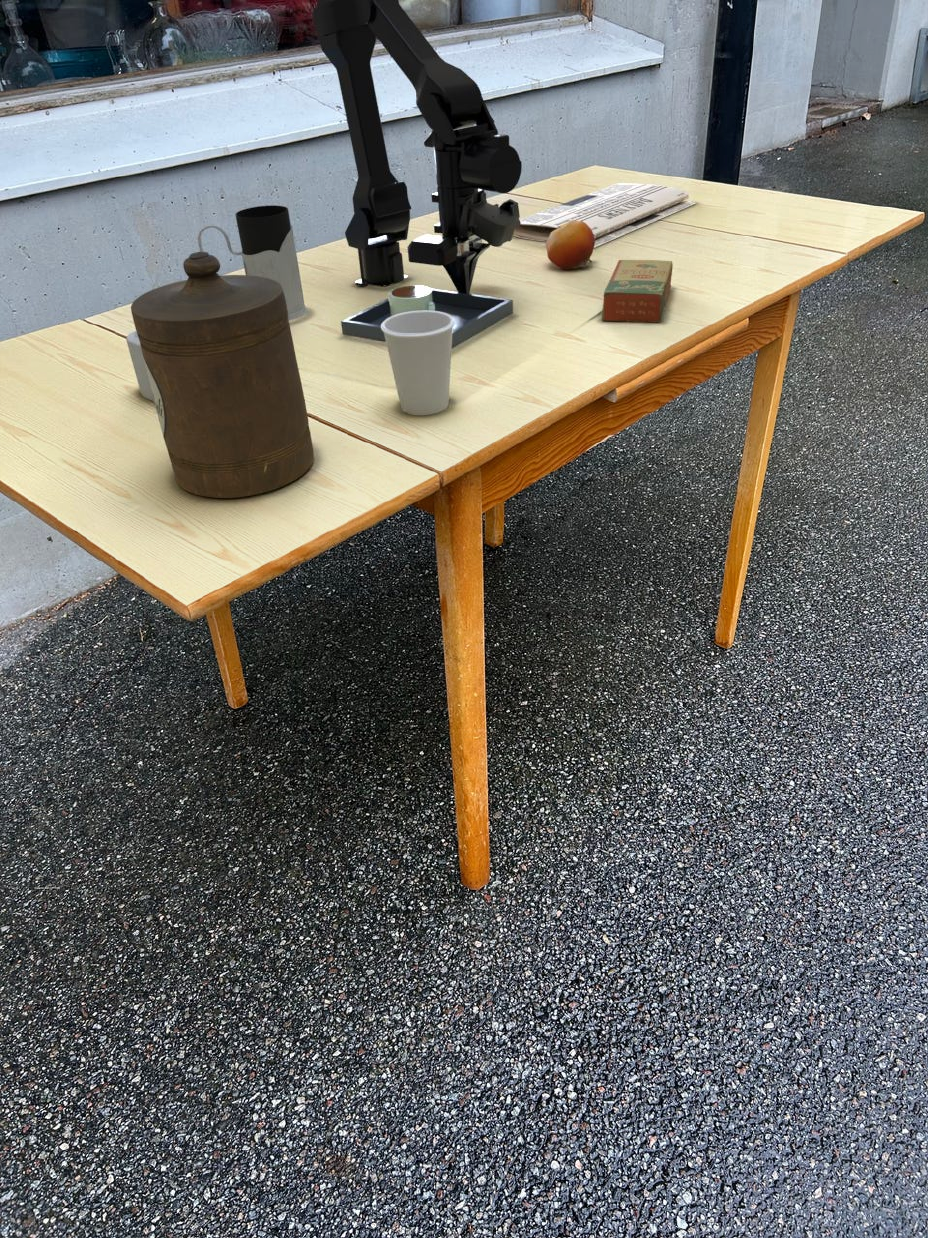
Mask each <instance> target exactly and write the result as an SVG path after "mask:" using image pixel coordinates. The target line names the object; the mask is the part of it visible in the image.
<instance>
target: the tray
mask: <svg viewBox="0 0 928 1238" xmlns="http://www.w3.org/2000/svg"><path fill="white" fill-rule="evenodd" d="M430 288H431V287H430ZM431 289H432V296H433V303H434V304H435V311H439V312H443V313H446V314H449V315H450V316H452V317H453V318H454V320H455V324H454V326H453V332H452V349H454V348H455V347H457V346H459V345H461V344H462V343H464V342H465V341H467V340H469V339H471V338H472V337H474V336H476V335H477V334H479V333H481V332H483V331H485V330H486V329H488V328H490V327H491V326H494V325H495V324H497V323H498V322H501V321H502V320H504V319H506V318H507V317H509V316H511V315H512V314H514V303H513V302H514V300H513V299H510V298H502V297H496V296H489V295H482V294H476V293H475V294H474V293H469V294H468V293H460V292H458V291H452V290H446V289H437V288H431ZM389 317H391V313H390V304H389V297H388V298H386V299H384V300H381V301H379V302H378V303H376V304H373V305H371V306H370V307H367V308H365V309H363V310H361V311H359V312H357V313H355V314H352V315H351V316H349V317H346V318H344V319H342V320H341V321H340V325H341V326H340V327H341V332H342V335H344V336H351V337H357V338H362V339H367V340H373V341H378V342H383V343H384V342H385V343H386V340H385V336H384V332H383V331H382V330H381V324H382V323H383V322H384V321H385V320H386V319H387V318H389Z"/></svg>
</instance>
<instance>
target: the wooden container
mask: <svg viewBox="0 0 928 1238" xmlns="http://www.w3.org/2000/svg"><path fill="white" fill-rule="evenodd" d="M182 267H183V270H184V273H185V275H186V276H187V279H185V280H180V281H175V282H172V283H168V284H165V285H161V286H158V287H156V288H153V289H150V290H148V291H146V292H144V293H143V294H141V295H139V296H137V298H135V300H133V302H132V303H131V306H130V311H131V316H132V321H133V324H134V328H135V331H137V335H138V338H139V341H140V345H141V350H142V354H143V358H144V362H145V366H146V370H147V374H148V378H149V382H150V386H151V390H152V394H153V399H154V401H153V402H154V407H155V410H156V414H157V419H158V422H159V425H160V430H161V434H162V437H163V440H164V445H165V447H166V450H167V453H168V457H169V461H170V464H171V468H172V471H173V474H174V478H175V480H176V482H177V484H178V485H179V487H181V489H183V490H185V492H188V493H190V494H194V495H197V496H201V497H206V498H215V499H233V498H243V497H244V498H245V497H249V496H256V495H260V494H263V493H268V492H271V491H274V490H277V489H279V488H282V487H284V486H286V485H288V484H290V483H292V482H294V481H296V480H297V479H299V478H300V477H302V476H303V475H304V474H305V473H306V472H307V471H309V470H310V468H311V467H312V465H313V463H314V460H315V451H314V446H313V439H312V434H311V433H312V432H311V430H310V425H309V424H310V423H309V415H308V411H307V405H306V399H305V394H304V388H303V384H302V380H301V375H300V369H299V366H298V360H297V356H296V355H297V354H296V350H295V345H294V340H293V334H292V329H291V324H290V321H289V318H288V310H287V304H286V299H285V295H284V291H283V288H282V286H281V284H280V283H278V282H277V281H275V280H272V279H269V278H265V277H259V276H251V275H246V274H228V275H227V274H224V275H220V274H219V273H218V272H219V271H220V269H221V263H220V260H219V259H218V258H217V256H215V255H213V254H210V253H209V252H207V251H203V252H200V251H196V252H193V253H192V252H191V254H189V255H188V257H187V258H185V259H184V261H183V265H182Z"/></svg>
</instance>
